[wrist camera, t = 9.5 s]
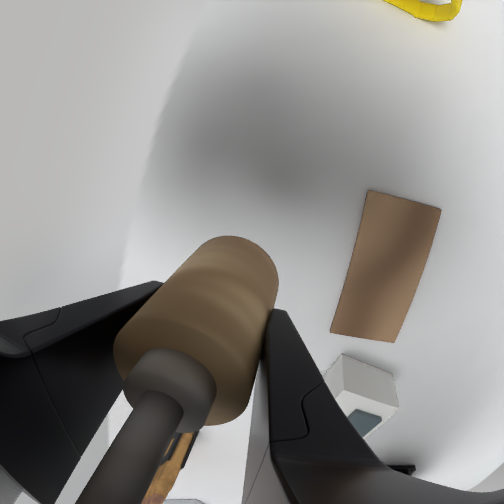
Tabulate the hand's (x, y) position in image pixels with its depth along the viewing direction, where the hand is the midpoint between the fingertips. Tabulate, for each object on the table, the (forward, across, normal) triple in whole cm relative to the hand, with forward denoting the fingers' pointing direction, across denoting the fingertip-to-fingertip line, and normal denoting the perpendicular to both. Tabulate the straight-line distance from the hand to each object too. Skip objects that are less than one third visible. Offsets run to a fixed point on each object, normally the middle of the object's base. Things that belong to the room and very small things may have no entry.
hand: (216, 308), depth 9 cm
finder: (+11, -9, +13) cm, 19 cm away
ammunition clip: (+11, +6, +28) cm, 31 cm away
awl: (+2, 0, 0) cm, 2 cm away
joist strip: (+11, -8, +10) cm, 17 cm away
